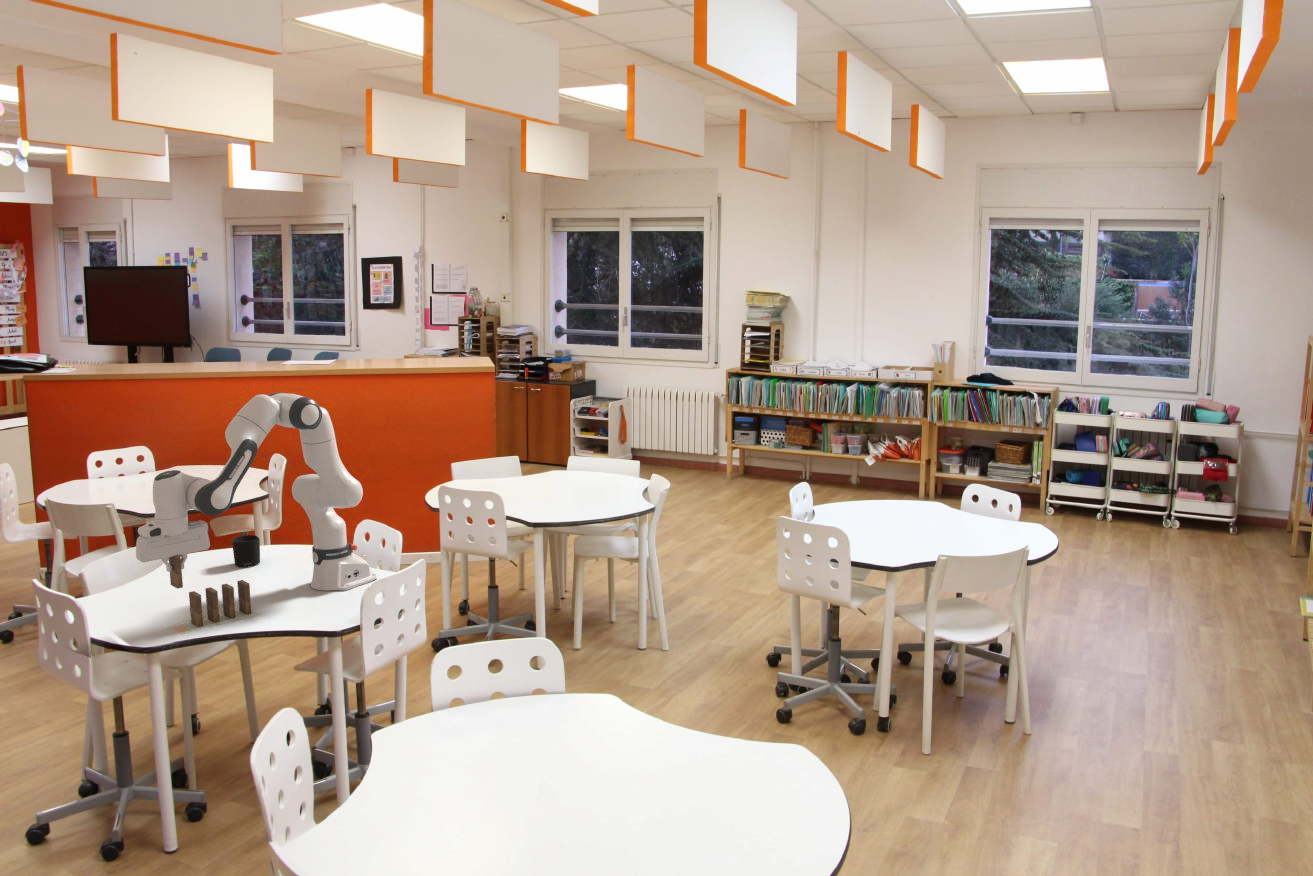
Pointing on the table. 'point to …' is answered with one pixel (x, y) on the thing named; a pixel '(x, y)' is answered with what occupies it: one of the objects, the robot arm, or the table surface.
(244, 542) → the pen holder
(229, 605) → the domino
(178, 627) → the domino board
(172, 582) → the end domino
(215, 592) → the domino
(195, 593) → the domino
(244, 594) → the domino
